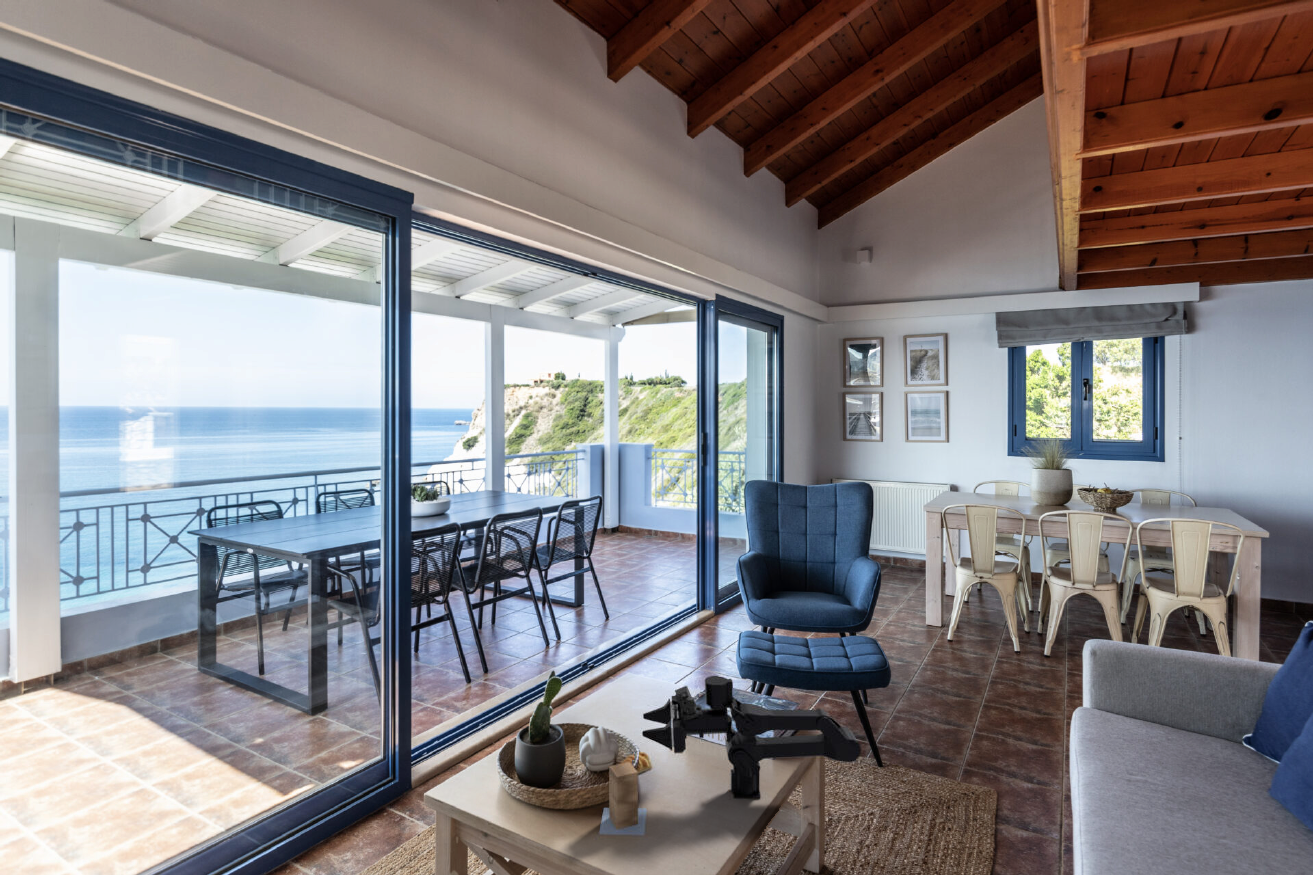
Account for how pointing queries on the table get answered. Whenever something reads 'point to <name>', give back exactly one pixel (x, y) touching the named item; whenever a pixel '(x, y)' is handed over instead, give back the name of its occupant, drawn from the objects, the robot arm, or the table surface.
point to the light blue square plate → (609, 828)
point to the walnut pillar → (623, 795)
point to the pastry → (640, 762)
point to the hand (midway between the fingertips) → (642, 724)
